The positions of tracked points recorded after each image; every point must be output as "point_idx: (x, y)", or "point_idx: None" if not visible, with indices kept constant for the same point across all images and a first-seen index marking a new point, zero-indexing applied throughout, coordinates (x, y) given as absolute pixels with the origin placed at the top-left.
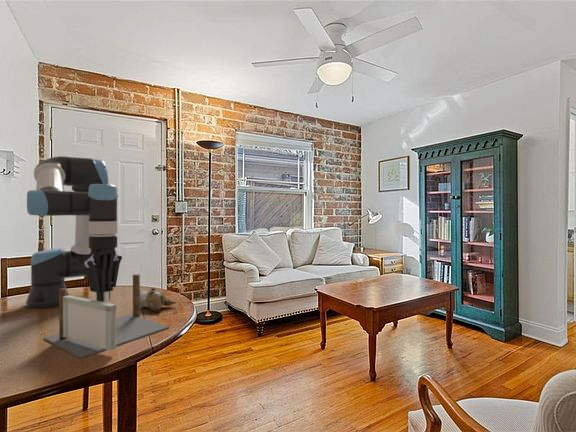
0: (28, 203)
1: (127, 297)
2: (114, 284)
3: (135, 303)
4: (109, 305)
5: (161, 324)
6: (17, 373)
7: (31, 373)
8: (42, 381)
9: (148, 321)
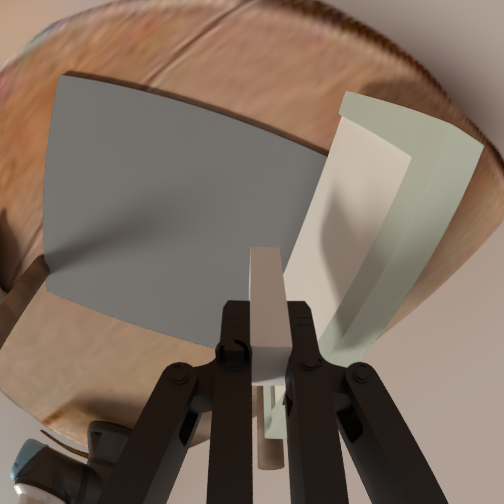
0: None
1: (7, 357)
2: (181, 382)
3: (25, 293)
4: (473, 155)
5: (52, 120)
6: (445, 264)
7: (449, 237)
8: (482, 184)
9: (51, 190)
